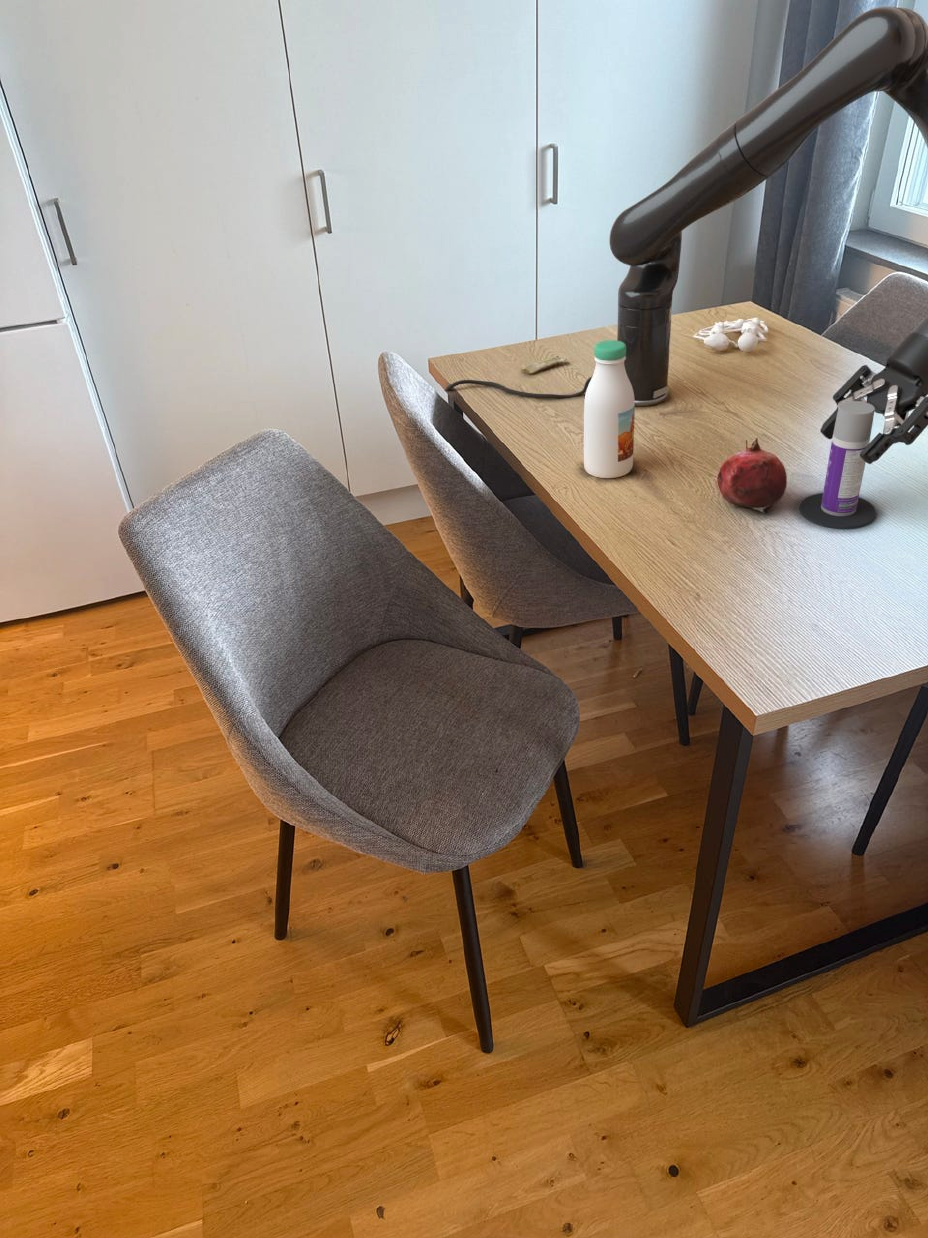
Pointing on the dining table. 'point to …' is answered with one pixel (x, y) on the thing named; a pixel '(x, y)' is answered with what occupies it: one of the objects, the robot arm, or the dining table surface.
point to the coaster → (816, 515)
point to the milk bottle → (609, 414)
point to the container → (847, 458)
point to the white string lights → (746, 327)
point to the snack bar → (543, 364)
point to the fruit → (752, 478)
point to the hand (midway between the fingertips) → (844, 447)
